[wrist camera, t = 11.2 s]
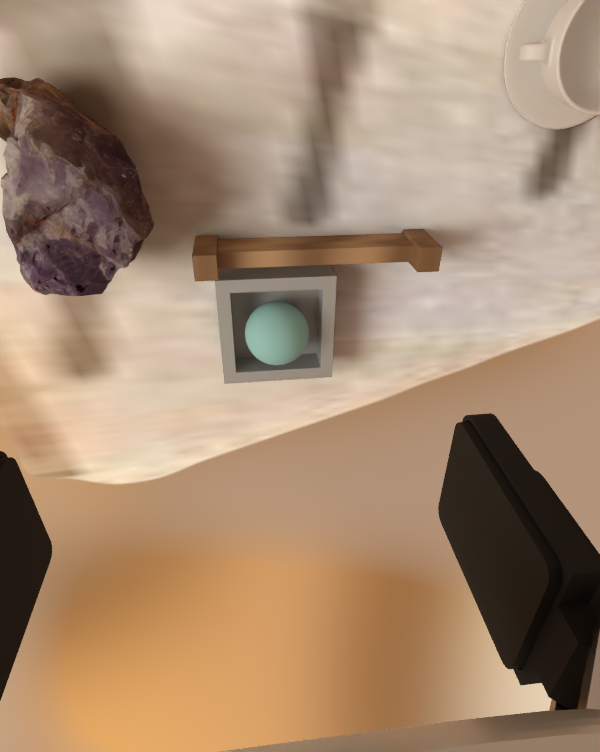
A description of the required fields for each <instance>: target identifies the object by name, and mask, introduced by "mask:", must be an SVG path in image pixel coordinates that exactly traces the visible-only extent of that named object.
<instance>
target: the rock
mask: <svg viewBox="0 0 600 752" xmlns="http://www.w3.org/2000/svg"><path fill="white" fill-rule="evenodd" d="M0 138H2V139H3V140H5V141H6V142H7V145H6V148H5V152H4V154H3V155H4V158H5V160H6V167H7V173H6V174H5V175H4V176H3V177H2V178H1V186H2V189H3V216H4V220H5V225H6V231H7V233H8V235H9V237H10V239H11V241H12V243H13V245H14V248H15V250H16V254H17V261H18V262H19V264H20V272H21V274H22V276H23V278H24V280H25V281H26V282H27V283H28V284H29V285H30V286H31V288H32V289H33V290H34V291H36V292H39V293H41V294H44V295H47V294H51V293H52V294H59V295H66V296H84V295H93V294H102V293H103V291H104V290H105V289H106V287H107V285H108V283H109V282H111V280H112V278H113V276H114V274H115V273H116V271H117V270H118V269H119V268H125V267H127V266H128V265H129V263H130V262H132V261H133V260H134V259H135V257H136V255H137V253H138V252H139V250H140V248H141V245H142V243H143V240H144V239H145V238H146V237H148V235H149V233H150V232H151V230H152V228H153V226H154V223H153V221H152V218H151V215H150V212H149V206H148V203H147V201H146V199H145V197H144V194H143V192H142V190H141V185H140V181H139V177H138V174H137V171H136V168H135V165H134V164H133V162H132V161H131V159H130V158H129V156H128V155H127V152H126V150H125V148H124V146H123V144H122V143H121V142H120V141H119V140H118V139H117V137H115V136H113V135H112V134H110V132H109V131H107V129H105V128H104V127H102V126H100V125H98V124H96V123H94V122H92V121H91V120H89V119H87V118H86V117H85V116H84V115H83V114H82V113H81V112H80V111H79V110H78V109H77V108H76V107H75V106H74V105H73V104H72V103H71V101H70V100H69V99H68V98H67V96H66V95H65V94H64V93H62V92H60V91H59V90H58V89H56V88H55V87H53V86H52V85H51V84H49V83H46V82H44V81H43V80H41V79H40V78H37V79H34V80H32V81H24V80H22V79H18V78H3V79H0Z"/></svg>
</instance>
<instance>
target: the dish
mask: <svg viewBox="0 0 600 752" xmlns="http://www.w3.org/2000/svg"><path fill="white" fill-rule="evenodd" d="M336 281H337V276H336V273H335V271H334V269H333V267H332V265H309V266H283V267H257V268H231V269H219V274H218V280H215V286H216V296H217V307H218V318H219V329H220V340H221V350H222V361H223V372H224V383H225V384H227V383H243V382H259V381H275V380H291V379H308V378H324V377H332V365H333V344H334V323H335V302H336ZM274 301H280V302H285V303H288V304H291V305H292V306H294V307H296V308H297V309H298V310H299V311H300V312H301V313H302V314H303V316H304V317H305V319H306V322H307V325H308V329H309V338H308V342H307V345H306V347H305V349H304V351H303V352H302V354H301V355H300V356H299V357H298V358H297V359H295V360H294V361H292V362H290V363H287V364H284V365H270V364H267V363H264V362H262V361H260V360H259V359H257V358H256V357H255V356H254V355H253V354H252V352H251V351H250V350H249V348H248V345H247V343H246V338H245V328H246V324H247V321H248V319H249V317H250V315H251V314H252V313H253V312H254V310H256V309H257V308H258V307H259V306H261V305H263V304H265V303H268V302H274Z"/></svg>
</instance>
